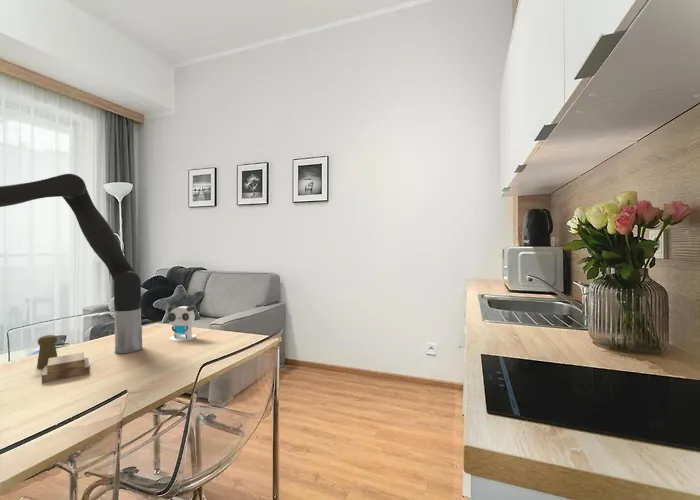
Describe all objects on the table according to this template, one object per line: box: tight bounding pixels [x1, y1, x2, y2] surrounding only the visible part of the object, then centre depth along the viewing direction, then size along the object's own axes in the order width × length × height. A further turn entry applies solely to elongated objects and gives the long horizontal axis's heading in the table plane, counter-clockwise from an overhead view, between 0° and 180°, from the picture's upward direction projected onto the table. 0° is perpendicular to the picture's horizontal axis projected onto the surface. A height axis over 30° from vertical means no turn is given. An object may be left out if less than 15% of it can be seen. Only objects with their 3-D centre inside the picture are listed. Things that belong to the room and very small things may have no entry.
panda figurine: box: [167, 305, 197, 342], centre depth 159 cm, size 12×11×15 cm
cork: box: [36, 334, 58, 370], centre depth 123 cm, size 6×6×11 cm
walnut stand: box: [41, 352, 90, 384], centre depth 116 cm, size 12×12×5 cm
